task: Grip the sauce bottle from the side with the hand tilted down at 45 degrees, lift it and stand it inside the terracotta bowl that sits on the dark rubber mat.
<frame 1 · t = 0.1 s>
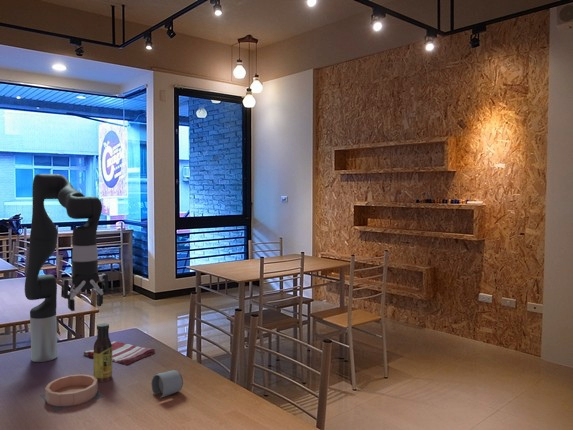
hand: (85, 308, 154), 29 cm above the table, tool pointing down, fingers open, 8 cm apart
sauce bottle: (103, 380, 168), on the table
bowl: (72, 395, 154), resting on mat
mat: (72, 397, 154), on the table
ceramic mug: (164, 393, 158), on the table
dish towel: (119, 355, 194), on the table
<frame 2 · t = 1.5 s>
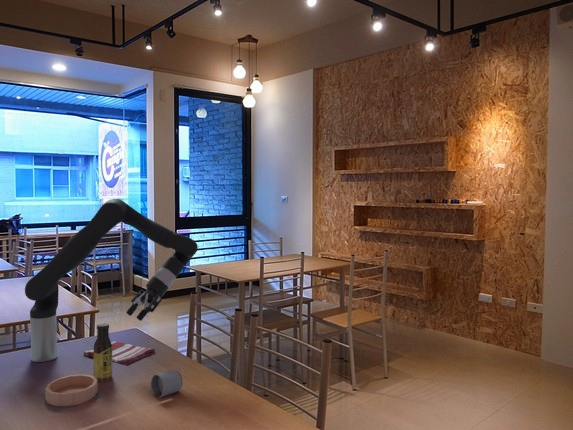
hand: (133, 316, 175), 21 cm above the table, tool tilted 45°, fingers open, 8 cm apart
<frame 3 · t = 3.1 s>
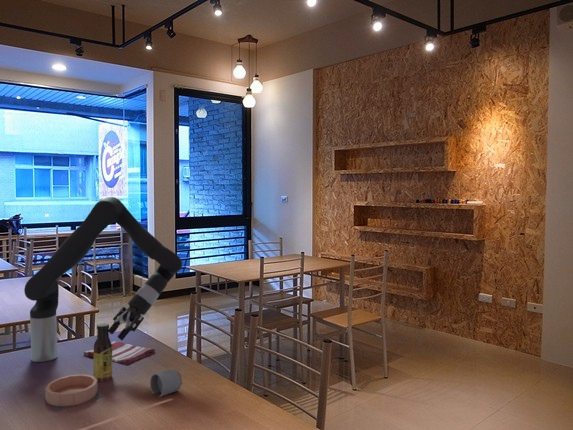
hand: (114, 335, 170), 15 cm above the table, tool tilted 45°, fingers open, 8 cm apart
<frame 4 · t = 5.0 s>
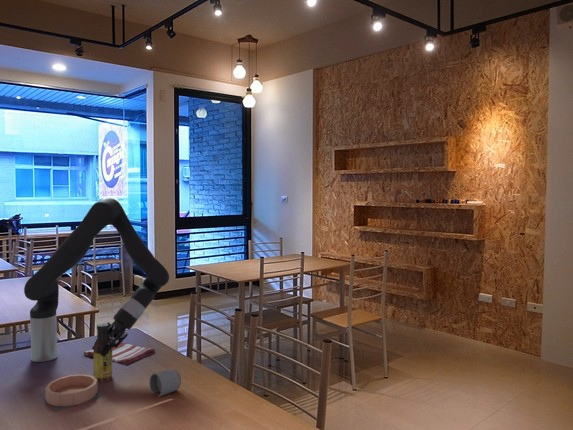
hand: (97, 352, 166), 10 cm above the table, tool tilted 45°, fingers closed on sauce bottle, 6 cm apart
sauce bottle: (103, 380, 168), on the table, touching gripper
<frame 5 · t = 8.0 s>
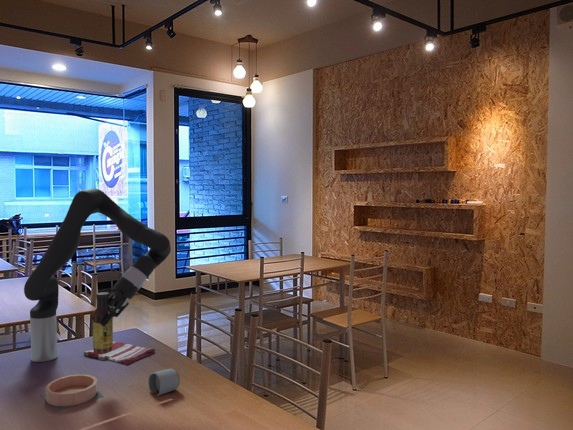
hand: (97, 322, 159), 23 cm above the table, tool tilted 45°, fingers closed on sauce bottle, 6 cm apart
sauce bottle: (103, 351, 161), point 13 cm above the table, touching gripper
when the fingers open (13 cm above the table, at t = 11.1 s): sauce bottle stays where it is, resting on bowl.
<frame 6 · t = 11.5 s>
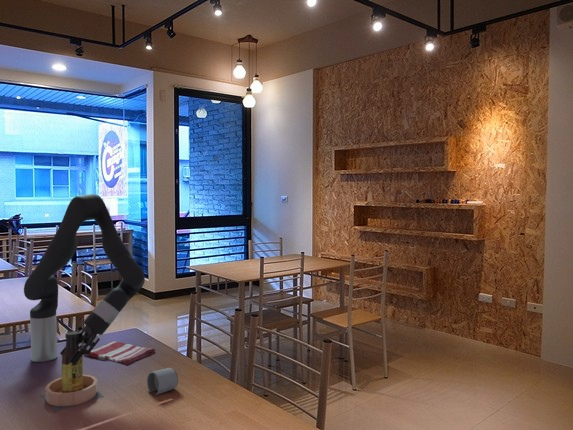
hand: (67, 359, 153), 13 cm above the table, tool tilted 45°, fingers open, 8 cm apart
sauce bottle: (72, 393, 155), point 1 cm above the table, touching bowl
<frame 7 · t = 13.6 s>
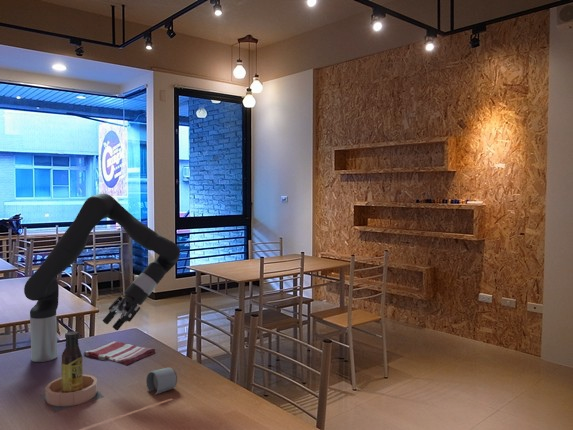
hand: (109, 325, 164), 20 cm above the table, tool tilted 45°, fingers open, 8 cm apart
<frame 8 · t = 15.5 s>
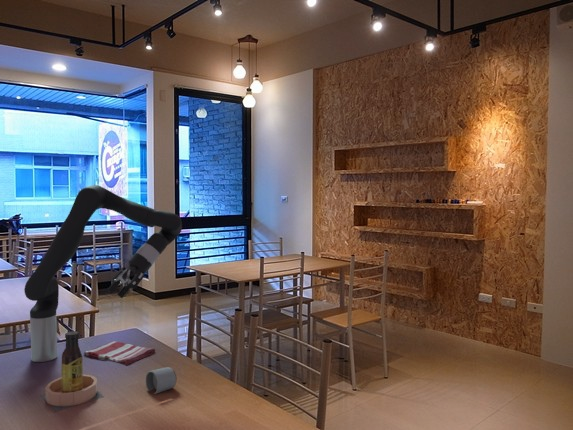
hand: (114, 294, 167), 31 cm above the table, tool tilted 45°, fingers open, 8 cm apart
at the end: sauce bottle 0.3 cm from the bowl (horizontally); sauce bottle tilted 0°; the gripper is holding nothing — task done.
